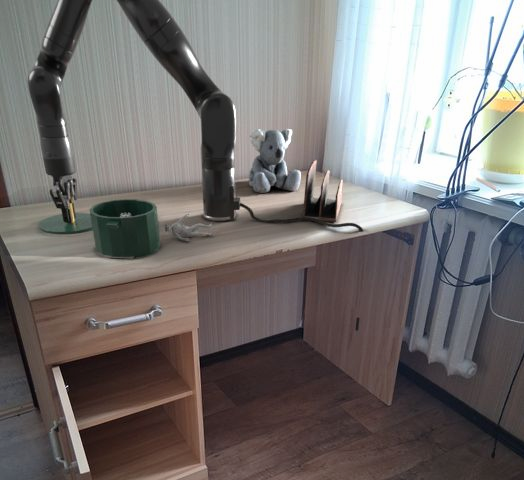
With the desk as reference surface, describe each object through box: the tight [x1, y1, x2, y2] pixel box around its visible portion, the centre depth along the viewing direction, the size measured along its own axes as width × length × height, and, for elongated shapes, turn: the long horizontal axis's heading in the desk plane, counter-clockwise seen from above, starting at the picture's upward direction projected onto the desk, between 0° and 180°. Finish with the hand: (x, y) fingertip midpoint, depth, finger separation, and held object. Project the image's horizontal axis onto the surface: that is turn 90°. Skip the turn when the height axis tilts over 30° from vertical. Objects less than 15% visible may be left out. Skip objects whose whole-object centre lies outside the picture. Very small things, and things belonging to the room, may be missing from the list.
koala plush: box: [248, 127, 302, 194], centre depth 175 cm, size 17×18×20 cm
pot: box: [88, 198, 161, 260], centre depth 125 cm, size 16×21×10 cm
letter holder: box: [302, 159, 344, 223], centre depth 153 cm, size 10×20×14 cm, turn 168°
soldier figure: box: [164, 213, 213, 242], centre depth 134 cm, size 8×5×12 cm
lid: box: [38, 203, 93, 235], centre depth 140 cm, size 17×17×6 cm
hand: (70, 220), depth 140 cm, fingers closed on lid, 2 cm apart
